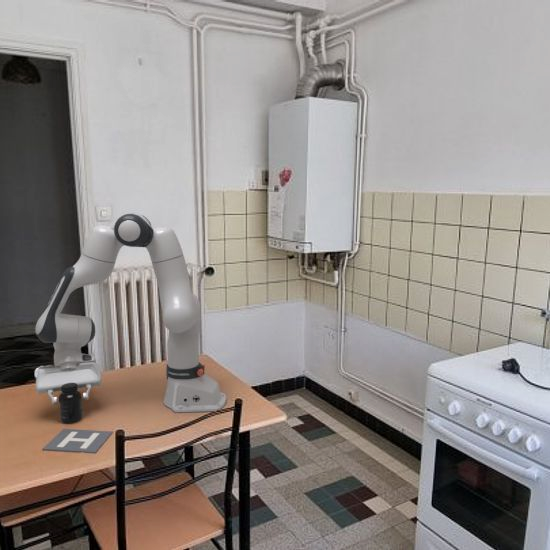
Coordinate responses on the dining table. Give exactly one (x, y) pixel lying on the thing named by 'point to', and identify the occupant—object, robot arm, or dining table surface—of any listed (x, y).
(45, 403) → the dining table surface
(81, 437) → the board
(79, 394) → the supplement bottle
